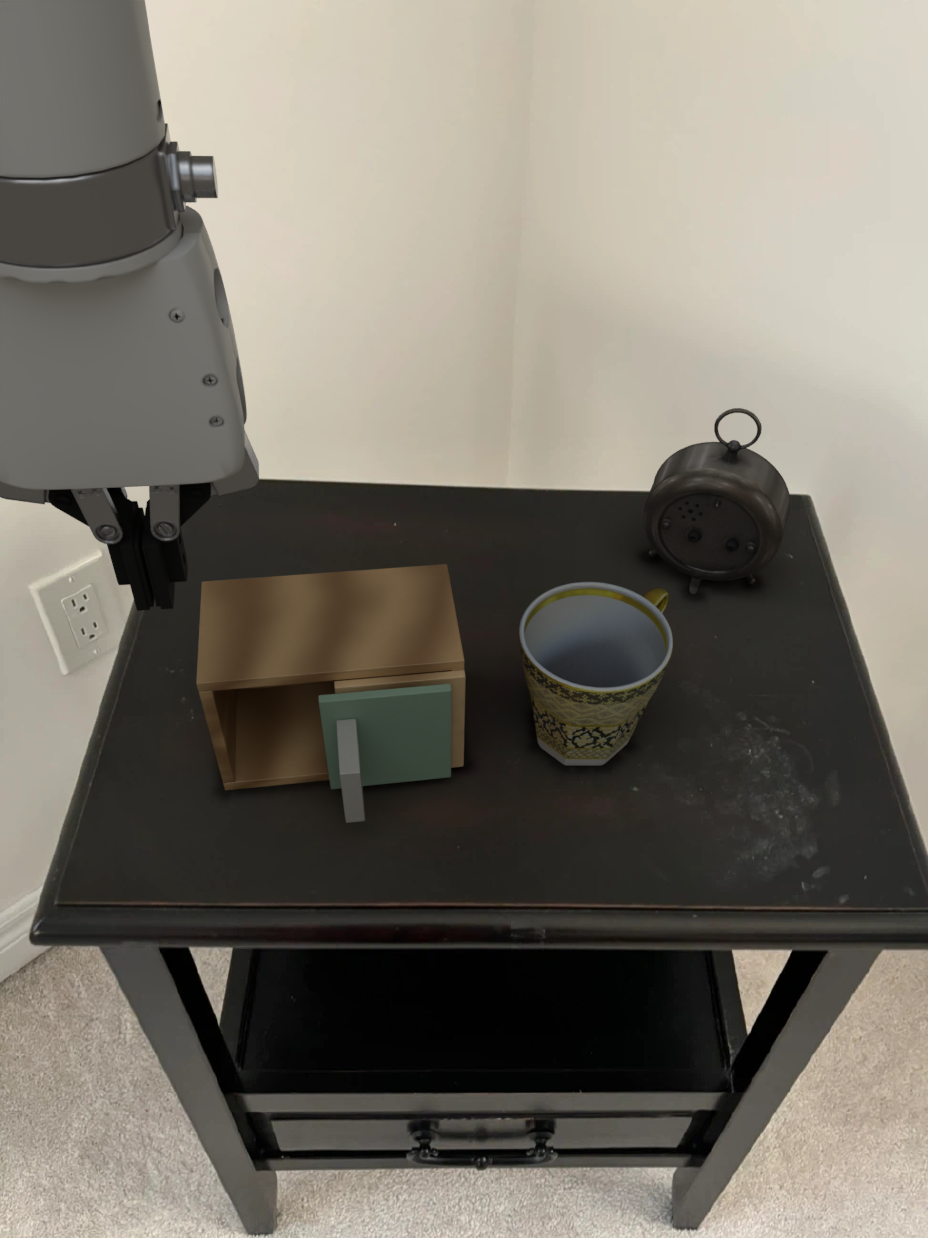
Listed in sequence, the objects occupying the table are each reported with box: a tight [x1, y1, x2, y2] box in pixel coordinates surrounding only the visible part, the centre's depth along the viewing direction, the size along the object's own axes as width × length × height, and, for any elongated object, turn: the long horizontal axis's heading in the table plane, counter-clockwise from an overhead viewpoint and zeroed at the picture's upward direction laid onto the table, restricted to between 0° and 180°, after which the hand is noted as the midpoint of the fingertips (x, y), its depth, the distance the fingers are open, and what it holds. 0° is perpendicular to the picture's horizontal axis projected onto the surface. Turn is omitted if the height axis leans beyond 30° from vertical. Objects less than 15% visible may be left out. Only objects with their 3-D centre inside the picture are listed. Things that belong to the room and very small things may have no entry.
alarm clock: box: [642, 407, 791, 595], centre depth 79 cm, size 11×5×16 cm, turn 71°
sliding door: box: [318, 684, 452, 824], centre depth 64 cm, size 8×5×9 cm, turn 99°
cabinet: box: [196, 563, 467, 791], centre depth 69 cm, size 16×10×11 cm, turn 99°
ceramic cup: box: [518, 581, 674, 767], centre depth 71 cm, size 13×10×10 cm
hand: (157, 589), depth 49 cm, fingers closed
